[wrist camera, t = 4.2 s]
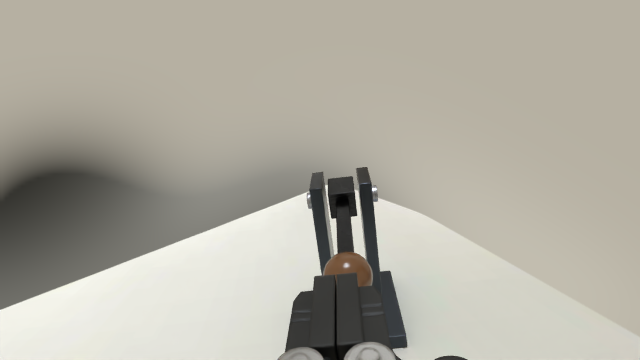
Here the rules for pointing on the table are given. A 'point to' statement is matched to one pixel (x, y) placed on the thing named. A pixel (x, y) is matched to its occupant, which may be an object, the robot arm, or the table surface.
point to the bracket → (380, 279)
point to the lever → (345, 232)
